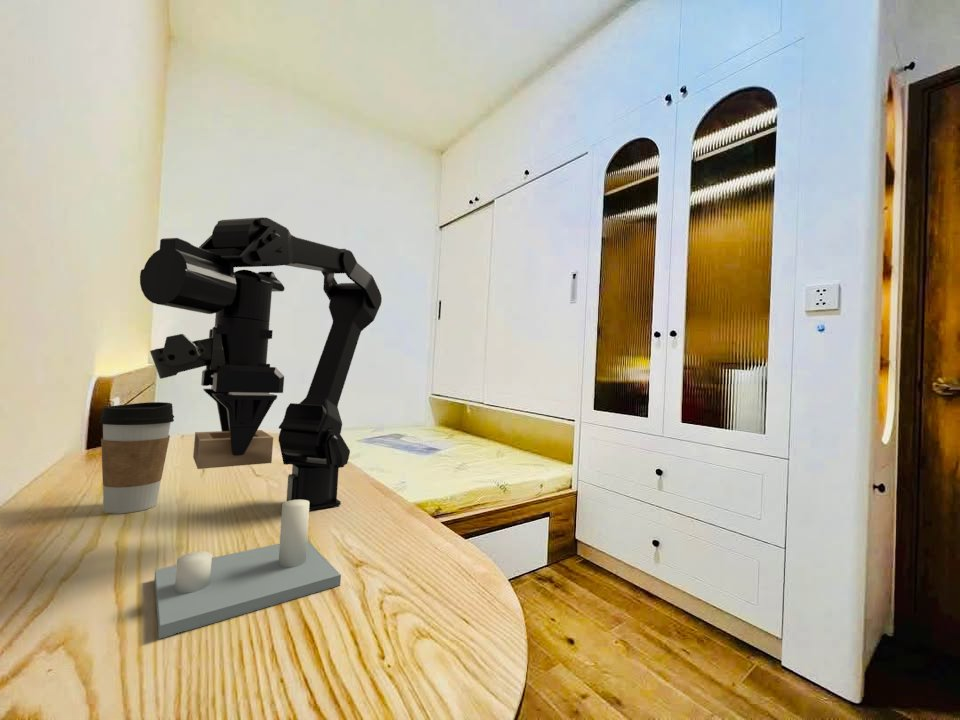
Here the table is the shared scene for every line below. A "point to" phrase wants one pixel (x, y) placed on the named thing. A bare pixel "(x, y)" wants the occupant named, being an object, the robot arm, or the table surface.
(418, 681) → the table surface
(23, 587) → the table surface
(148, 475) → the coffee cup
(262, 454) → the walnut ring
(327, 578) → the post board
